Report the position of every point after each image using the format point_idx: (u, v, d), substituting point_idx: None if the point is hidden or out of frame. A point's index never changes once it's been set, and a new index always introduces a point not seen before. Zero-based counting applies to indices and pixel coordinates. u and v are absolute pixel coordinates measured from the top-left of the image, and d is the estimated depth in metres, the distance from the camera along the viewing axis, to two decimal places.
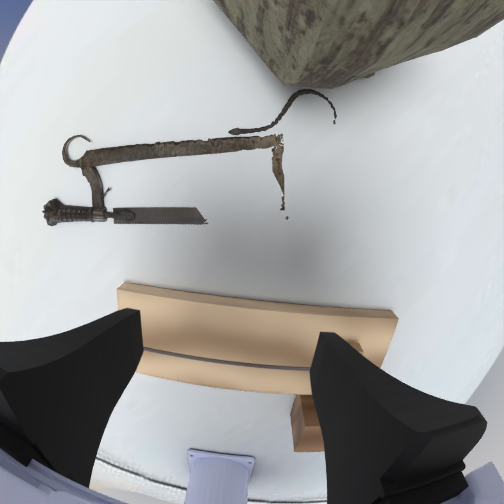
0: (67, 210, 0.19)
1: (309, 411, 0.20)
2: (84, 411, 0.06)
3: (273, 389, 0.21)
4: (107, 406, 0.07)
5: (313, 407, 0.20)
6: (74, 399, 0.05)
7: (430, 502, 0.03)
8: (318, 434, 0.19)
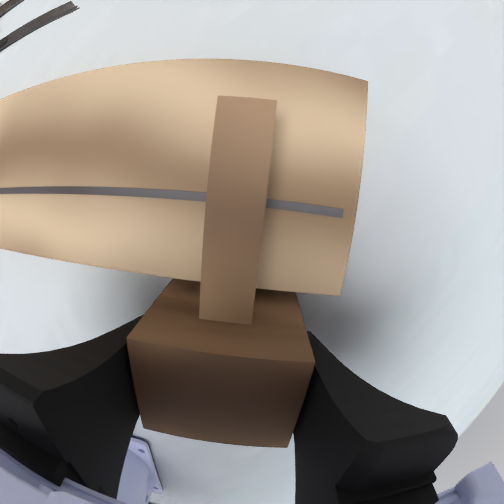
0: None
1: (165, 312, 0.08)
2: (114, 422, 0.06)
3: (105, 256, 0.10)
4: (134, 414, 0.07)
5: (181, 307, 0.09)
6: (105, 411, 0.05)
7: None
8: (179, 381, 0.07)
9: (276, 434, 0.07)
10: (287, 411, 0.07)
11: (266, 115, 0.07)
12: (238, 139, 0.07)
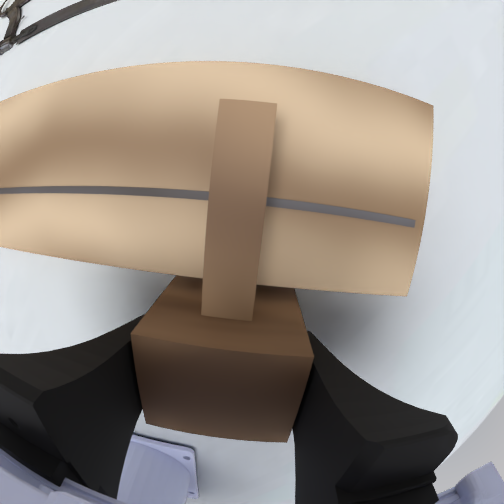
0: None
1: (168, 309, 0.09)
2: (114, 422, 0.06)
3: (183, 264, 0.10)
4: (134, 414, 0.07)
5: (184, 304, 0.09)
6: (105, 411, 0.05)
7: None
8: (181, 376, 0.07)
9: (276, 429, 0.08)
10: (287, 405, 0.07)
11: (267, 118, 0.07)
12: (240, 141, 0.07)
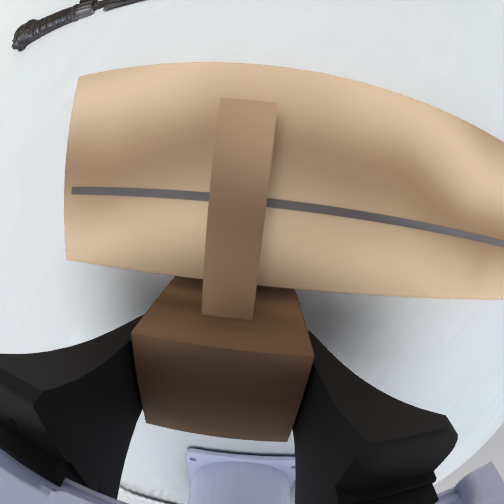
0: (44, 18, 0.07)
1: (168, 308, 0.09)
2: (114, 422, 0.06)
3: (376, 284, 0.10)
4: (134, 414, 0.07)
5: (184, 303, 0.09)
6: (105, 411, 0.05)
7: None
8: (182, 375, 0.07)
9: (276, 428, 0.08)
10: (287, 405, 0.07)
11: (267, 117, 0.07)
12: (240, 140, 0.07)
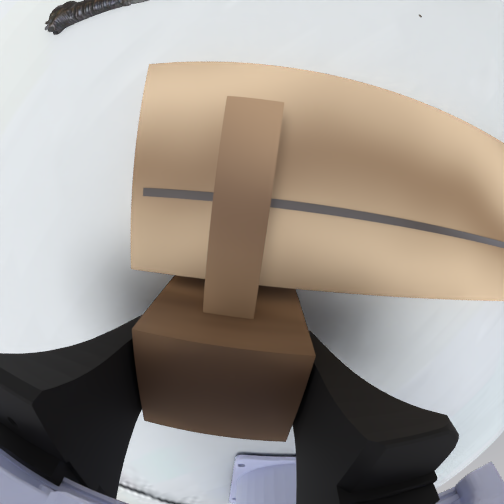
0: (88, 0, 0.07)
1: (169, 306, 0.09)
2: (113, 421, 0.06)
3: (439, 289, 0.10)
4: (133, 414, 0.07)
5: (185, 301, 0.09)
6: (104, 410, 0.05)
7: None
8: (182, 373, 0.07)
9: (275, 427, 0.08)
10: (287, 404, 0.07)
11: (273, 116, 0.07)
12: (246, 138, 0.07)
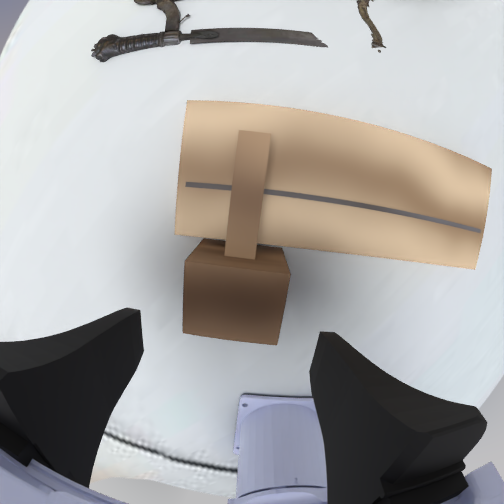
0: (129, 37, 0.13)
1: (203, 252, 0.15)
2: (84, 411, 0.06)
3: (385, 250, 0.16)
4: (107, 406, 0.07)
5: (212, 251, 0.15)
6: (74, 399, 0.05)
7: (430, 502, 0.03)
8: (213, 288, 0.13)
9: (269, 331, 0.14)
10: (276, 310, 0.13)
11: (265, 142, 0.13)
12: (250, 154, 0.13)
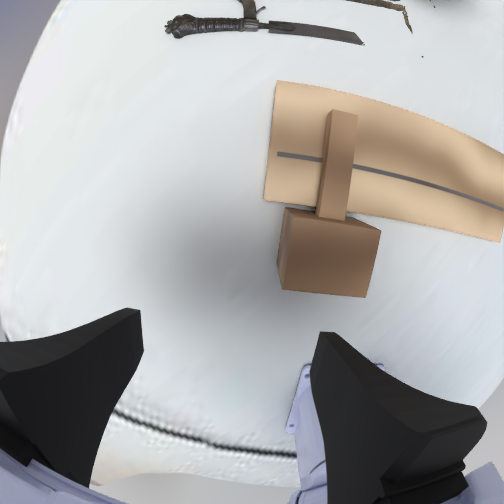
0: (208, 18, 0.15)
1: (300, 214, 0.16)
2: (84, 411, 0.06)
3: (436, 221, 0.17)
4: (107, 406, 0.07)
5: (305, 213, 0.16)
6: (74, 399, 0.05)
7: (430, 502, 0.03)
8: (317, 243, 0.14)
9: (361, 284, 0.15)
10: (368, 263, 0.15)
11: (353, 121, 0.14)
12: (342, 130, 0.14)
